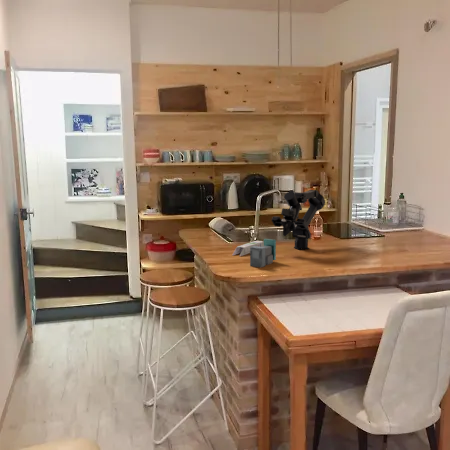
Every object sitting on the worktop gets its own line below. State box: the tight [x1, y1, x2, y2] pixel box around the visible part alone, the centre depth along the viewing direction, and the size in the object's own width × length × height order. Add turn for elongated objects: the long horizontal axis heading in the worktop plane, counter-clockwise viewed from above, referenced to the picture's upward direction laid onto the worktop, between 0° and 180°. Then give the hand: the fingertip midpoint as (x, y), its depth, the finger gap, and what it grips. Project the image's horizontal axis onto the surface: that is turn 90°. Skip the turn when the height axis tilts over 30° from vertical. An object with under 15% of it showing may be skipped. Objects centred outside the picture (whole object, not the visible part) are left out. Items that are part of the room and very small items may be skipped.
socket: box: [249, 246, 266, 268], centre depth 238 cm, size 4×6×9 cm, turn 56°
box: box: [231, 240, 264, 258], centre depth 270 cm, size 4×4×28 cm
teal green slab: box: [263, 238, 277, 261], centre depth 243 cm, size 13×6×10 cm, turn 146°
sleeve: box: [262, 245, 274, 266], centre depth 244 cm, size 6×6×8 cm
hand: (284, 235), depth 260 cm, fingers closed
